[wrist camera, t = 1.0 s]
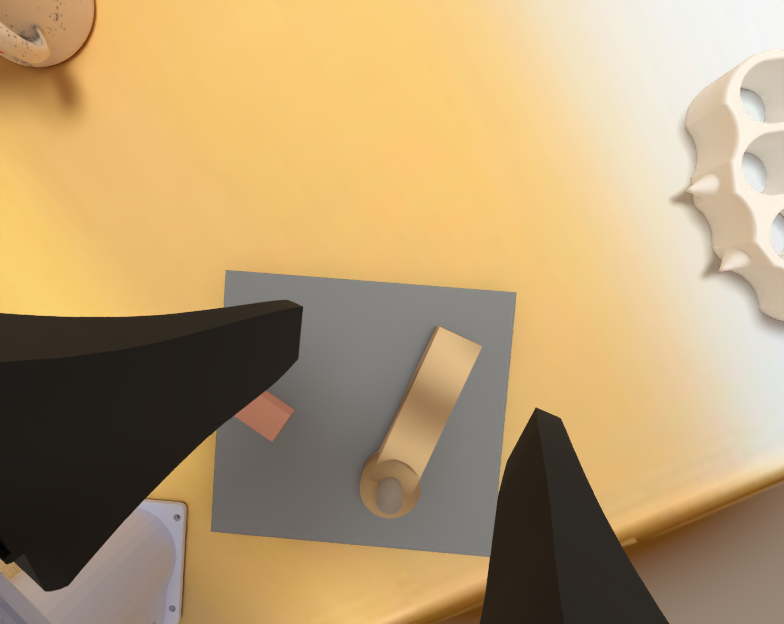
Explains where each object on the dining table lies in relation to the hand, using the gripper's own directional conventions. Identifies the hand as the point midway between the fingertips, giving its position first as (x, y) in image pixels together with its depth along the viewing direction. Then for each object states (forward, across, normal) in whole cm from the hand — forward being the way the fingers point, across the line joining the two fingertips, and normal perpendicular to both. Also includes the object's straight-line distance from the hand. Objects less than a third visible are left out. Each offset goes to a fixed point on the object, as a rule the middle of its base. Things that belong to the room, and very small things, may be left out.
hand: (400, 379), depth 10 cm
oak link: (+11, +1, +11) cm, 15 cm away
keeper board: (+10, +5, +12) cm, 17 cm away
